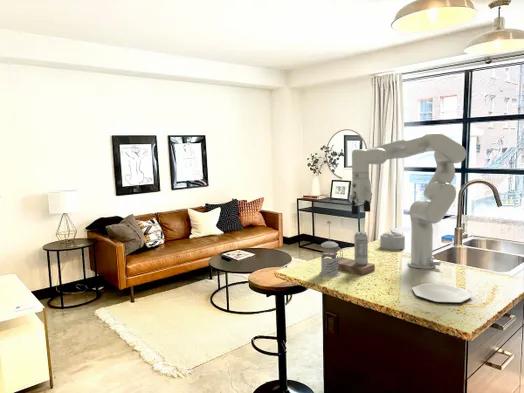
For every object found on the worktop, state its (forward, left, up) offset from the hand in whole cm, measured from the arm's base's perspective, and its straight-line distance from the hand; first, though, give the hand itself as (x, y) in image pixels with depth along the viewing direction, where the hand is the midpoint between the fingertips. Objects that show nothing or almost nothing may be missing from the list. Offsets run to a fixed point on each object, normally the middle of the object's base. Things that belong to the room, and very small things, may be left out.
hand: (361, 212), depth 180 cm
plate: (-40, +6, -28) cm, 49 cm away
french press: (+7, +13, -28) cm, 32 cm away
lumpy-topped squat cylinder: (+11, -49, -28) cm, 57 cm away
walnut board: (+5, +1, -28) cm, 28 cm away
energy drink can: (0, 0, -25) cm, 25 cm away
